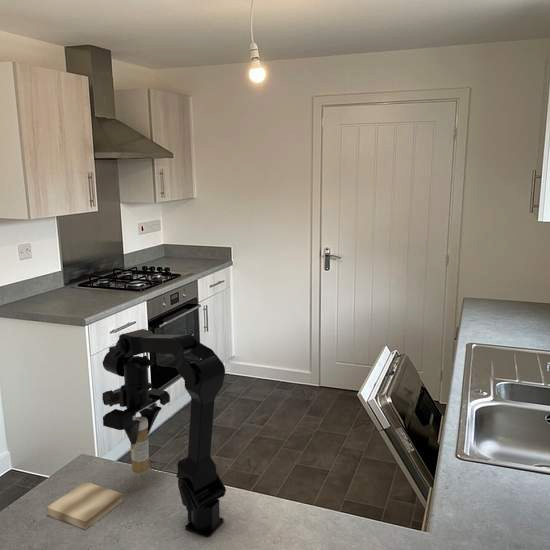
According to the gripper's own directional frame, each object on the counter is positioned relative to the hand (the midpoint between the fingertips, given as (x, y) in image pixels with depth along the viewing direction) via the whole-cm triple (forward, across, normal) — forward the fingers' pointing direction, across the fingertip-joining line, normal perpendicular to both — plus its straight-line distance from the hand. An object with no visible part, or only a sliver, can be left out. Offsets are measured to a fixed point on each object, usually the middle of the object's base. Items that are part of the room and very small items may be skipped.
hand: (139, 440), depth 136 cm
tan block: (+13, +13, -6) cm, 19 cm away
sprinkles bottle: (+8, 0, 0) cm, 8 cm away
